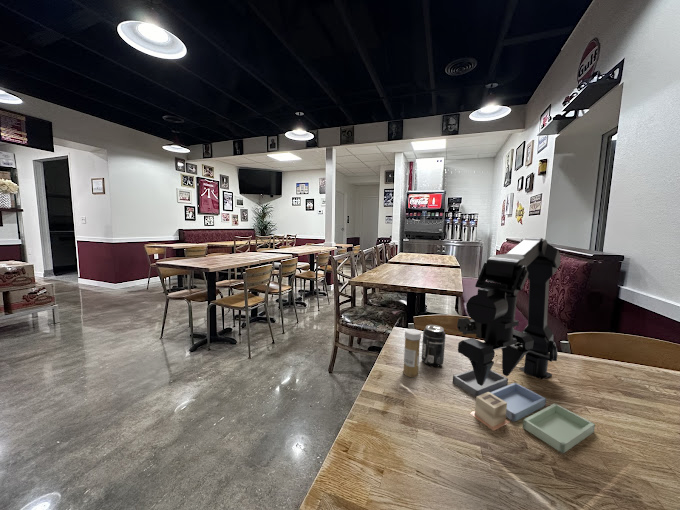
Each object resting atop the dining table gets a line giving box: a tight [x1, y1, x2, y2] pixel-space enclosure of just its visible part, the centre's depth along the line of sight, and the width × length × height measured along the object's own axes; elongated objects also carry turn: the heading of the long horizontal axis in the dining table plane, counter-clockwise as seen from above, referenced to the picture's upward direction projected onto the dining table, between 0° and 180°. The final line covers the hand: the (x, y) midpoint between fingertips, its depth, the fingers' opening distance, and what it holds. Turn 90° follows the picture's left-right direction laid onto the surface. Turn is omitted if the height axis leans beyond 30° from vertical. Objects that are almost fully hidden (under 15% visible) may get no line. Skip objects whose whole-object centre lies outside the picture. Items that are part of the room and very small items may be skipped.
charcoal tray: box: [452, 368, 509, 398], centre depth 76 cm, size 13×8×2 cm, turn 117°
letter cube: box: [474, 392, 507, 427], centre depth 63 cm, size 4×4×5 cm
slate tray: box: [490, 382, 547, 423], centre depth 68 cm, size 13×8×2 cm, turn 117°
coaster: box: [469, 410, 511, 432], centre depth 63 cm, size 6×6×1 cm
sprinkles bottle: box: [402, 328, 422, 378], centre depth 81 cm, size 5×5×14 cm
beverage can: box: [421, 324, 446, 368], centre depth 88 cm, size 7×7×12 cm
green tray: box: [522, 403, 596, 455], centre depth 60 cm, size 13×8×2 cm, turn 117°
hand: (493, 379), depth 62 cm, fingers open, 9 cm apart
